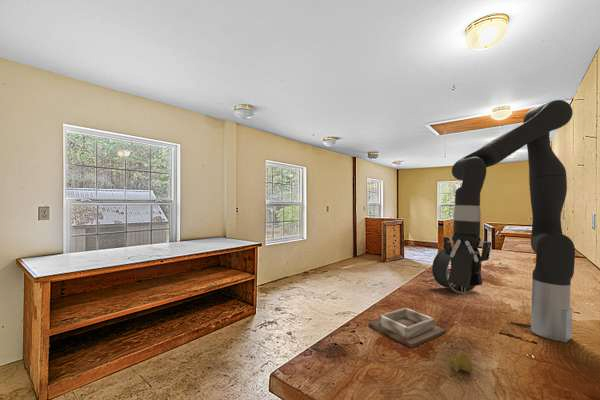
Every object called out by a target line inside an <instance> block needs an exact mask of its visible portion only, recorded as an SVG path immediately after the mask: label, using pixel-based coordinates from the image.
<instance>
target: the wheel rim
mask: <svg viewBox="0 0 600 400" xmlns="http://www.w3.org/2000/svg"><path fill="white" fill-rule="evenodd" d="M453 248H454V247H452V251H453ZM450 264H451V257H450V256H449V255H446V254H445V248H443V249H441V250H439V251H438V253H437V254H436V255H435V257H434V259H433V262H432V265H431V267H432V269H431V270H432V271H431V272H432V276H433V279H434V280H435V282H436V283H437V284H439V286H441V287H444V288H449V289H450V290H451V291H453V292H456V293H459V294H468V293H470V292H471V291H473V290H474V289H475V287H476V286H474V287H469V288H465V287H462V286H458V285H455V284H451V283H448V278H449V274H450V273H449V272H450V270H451V268H449V265H450ZM480 273H481V274H482V271H481V272H480Z"/></svg>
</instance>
